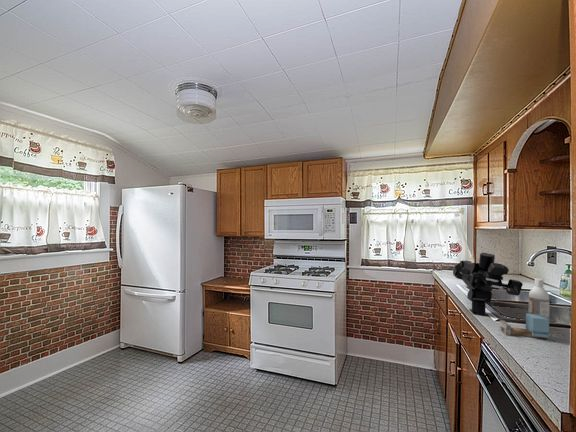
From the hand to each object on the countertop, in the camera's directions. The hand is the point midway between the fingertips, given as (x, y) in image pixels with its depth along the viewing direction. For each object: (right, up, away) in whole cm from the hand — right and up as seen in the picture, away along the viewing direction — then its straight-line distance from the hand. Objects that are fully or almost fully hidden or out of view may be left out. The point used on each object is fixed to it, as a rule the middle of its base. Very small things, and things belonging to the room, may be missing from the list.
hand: (504, 291), depth 112 cm
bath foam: (+26, -18, +13) cm, 34 cm away
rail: (+7, -17, -1) cm, 19 cm away
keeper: (+11, -17, -2) cm, 21 cm away
